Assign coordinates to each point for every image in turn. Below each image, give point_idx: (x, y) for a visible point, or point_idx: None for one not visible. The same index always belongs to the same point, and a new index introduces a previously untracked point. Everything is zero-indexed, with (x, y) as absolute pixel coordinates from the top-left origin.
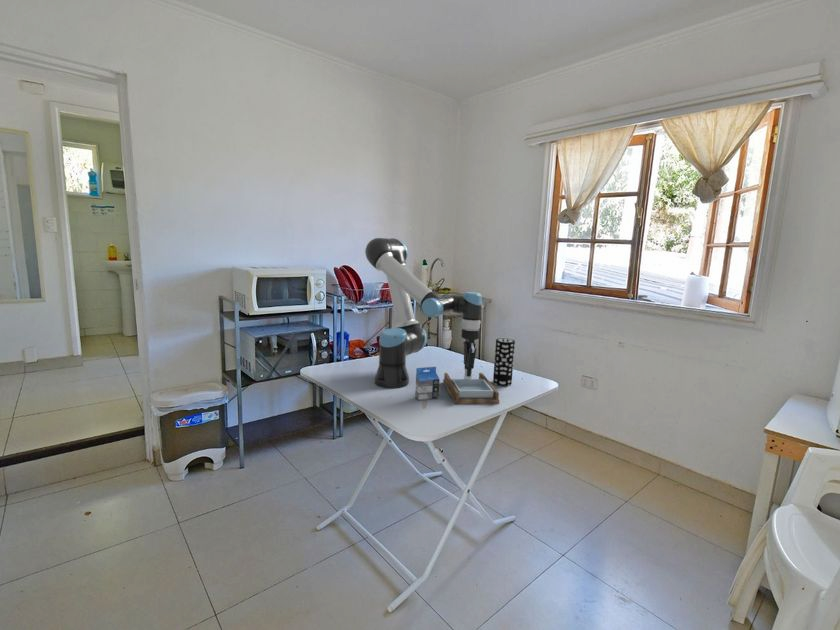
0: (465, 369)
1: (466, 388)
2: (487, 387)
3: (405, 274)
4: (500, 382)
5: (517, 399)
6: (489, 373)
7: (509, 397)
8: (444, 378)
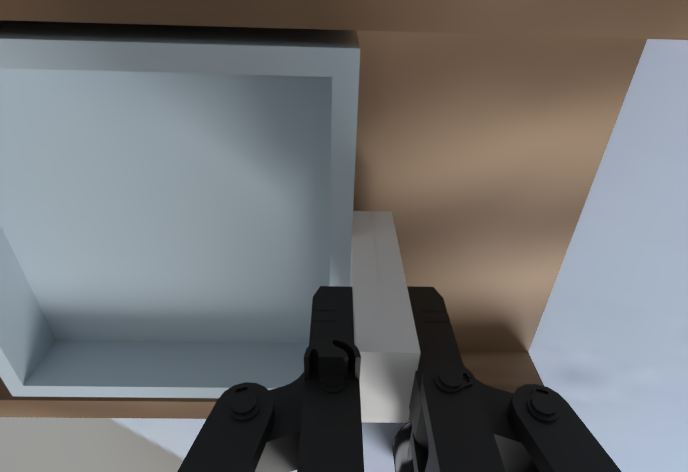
0: (369, 335)
1: (229, 190)
2: (164, 370)
3: None
4: (407, 450)
5: (160, 442)
6: (678, 429)
7: (188, 418)
8: None
